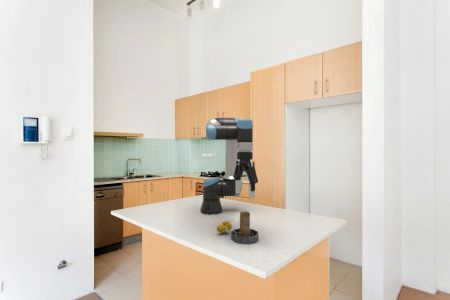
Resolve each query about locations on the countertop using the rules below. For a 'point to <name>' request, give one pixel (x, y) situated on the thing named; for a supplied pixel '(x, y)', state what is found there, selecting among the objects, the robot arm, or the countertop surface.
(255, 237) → the tin
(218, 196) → the robot arm
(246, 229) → the wooden beam block
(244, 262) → the countertop surface
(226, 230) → the pressure relief valve
